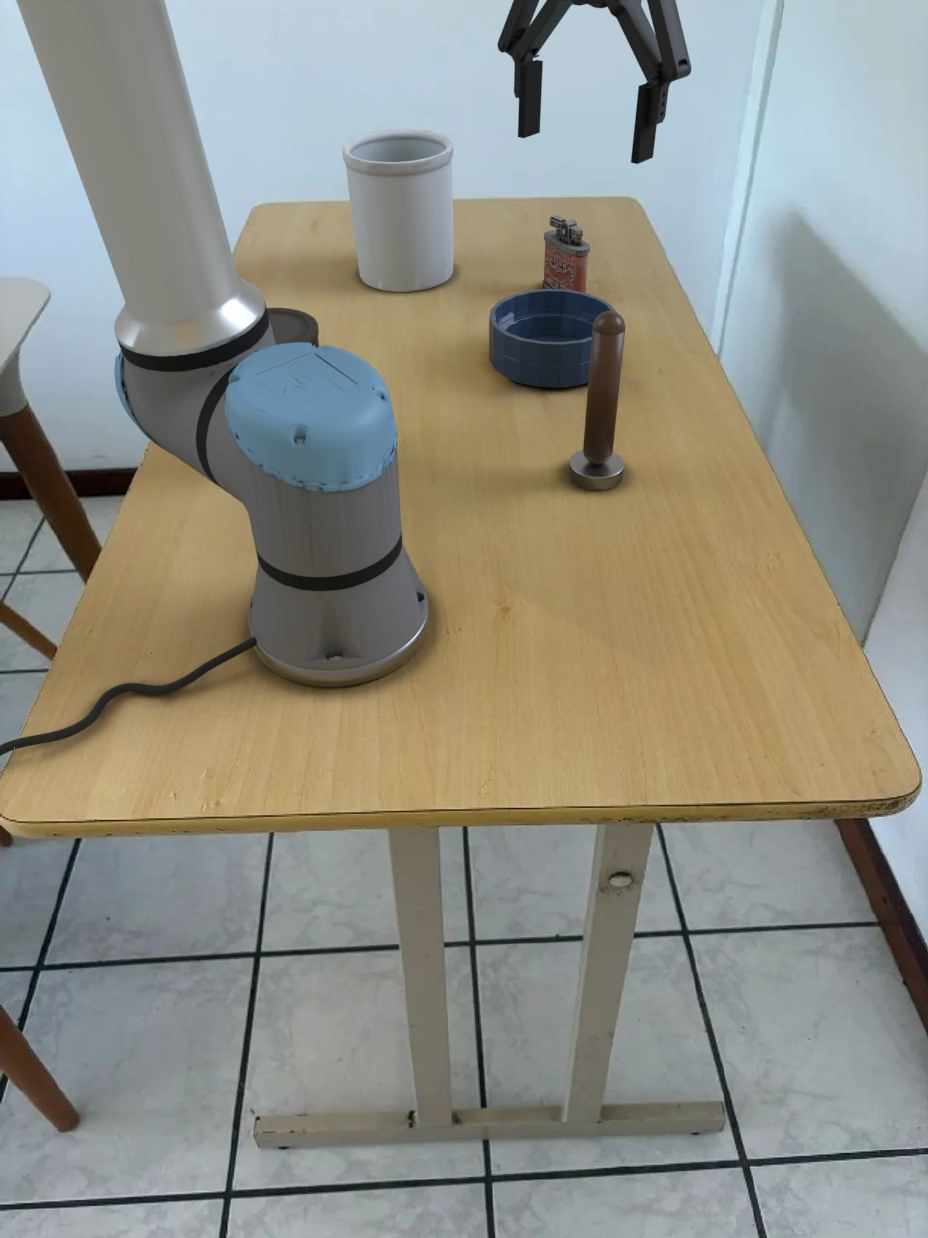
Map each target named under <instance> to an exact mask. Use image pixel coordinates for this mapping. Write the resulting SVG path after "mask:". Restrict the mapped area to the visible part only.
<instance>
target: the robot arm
mask: <svg viewBox="0 0 928 1238" xmlns="http://www.w3.org/2000/svg"><path fill="white" fill-rule="evenodd" d="M15 2H16V4H17V7H18V9H19V12H20V15H21V18H22V21H23V23H24V26H25V29H26V32H27V34H28V37H29V40H30V43H31V45H32V48H33V51H34V54H35V56H36V59H37V62H38V64H39V68H40V70H41V73H42V76H43V79H44V81H45V84H46V87H47V89H48V92H49V95H50V98H51V100H52V104H53V106H54V109H55V113H56V114H57V117H58V120H59V123H60V125H61V129H62V131H63V133H64V137H65V139H66V143H67V145H68V148H69V151H70V153H71V156H72V158H73V162H74V164H75V167H76V170H77V172H78V175H79V178H80V181H81V184H82V186H83V190H84V192H85V195H86V197H87V200H88V203H89V206H90V208H91V211H92V214H93V217H94V220H95V222H96V224H97V228H98V230H99V233H100V236H101V239H102V242H103V245H104V247H105V251H106V253H107V255H108V258H109V261H110V264H111V268H112V270H113V272H114V275H115V278H116V280H117V283H118V285H119V288H120V291H121V294H122V297H123V300H124V305H123V306H122V308H121V310H120V311H119V312H118V314H117V316H116V317H115V321H114V325H113V329H114V334H115V339H116V340H117V342H118V346H119V348H120V350H119V354H118V355H116V356H115V358H114V368H113V369H114V370H113V371H114V372H113V374H114V382H115V388H116V392H117V395H118V398H119V401H120V403H121V405H122V407H123V409H124V411H125V412H126V414H127V416H128V417H129V418H130V420H131V421H132V423H134V424H135V425H136V426H137V428H138V429H139V431H141V433H142V434H143V435H144V436H145V437H146V438H147V439H149V440H150V441H151V442H152V444H155V445H156V446H157V447H159V448H160V449H162V450H164V451H165V452H167V453H168V454H170V455H173V456H174V457H176V458H177V459H178V460H180V461H181V462H182V463H184V464H185V465H187V466H188V467H190V468H192V470H194V471H196V472H197V473H198V474H199V475H202V476H203V477H204V478H205V479H207V480H209V481H210V482H211V483H213V484H215V485H216V486H217V487H219V488H220V489H222V490H224V491H225V492H226V493H228V495H230V496H232V497H233V498H234V499H236V500H237V501H239V502H240V503H241V504H242V506H244V508H245V510H246V512H247V515H248V519H249V525H250V528H251V529H250V530H251V534H252V538H253V539H252V540H253V544H254V549H255V552H256V557H257V568H256V573H255V574H256V575H255V581H254V587H253V588H254V589H253V593H252V596H251V598H250V603H249V605H248V611H247V626H248V631H249V635H250V638H248V639H246V640H245V641H243V642H241V643H239V644H237V645H235V646H233V647H231V648H230V649H227V650H225V651H224V652H222V653H220V654H218V655H217V656H215V657H213V658H211V659H209V660H207V661H206V662H204V663H203V664H201V665H199V666H198V667H197V668H195V669H194V670H192V671H191V672H189V673H187V674H186V675H185V676H183V677H181V678H179V679H177V680H175V681H173V682H169V683H167V684H162V685H161V684H160V685H154V684H153V685H152V684H146V683H145V684H144V683H138V682H125V683H120V684H118V685H116V686H113V687H111V688H110V689H108V690H107V691H106V692H104V693H103V694H102V695H101V696H100V697H99V699H98V700H97V701H96V703H95V705H94V706H93V708H92V709H91V710H90V711H89V712H88V714H87V715H86V716H85V717H83V718H82V719H81V720H79V721H77V722H75V723H74V724H72V725H70V726H67V727H64V728H62V729H57V730H54V731H51V732H50V731H49V732H44V733H39V734H34V735H28V736H23V737H19V738H15V739H11V740H9V741H6V742H4V743H1V744H0V757H1V756H4V755H5V754H7V753H9V752H12V751H16V750H18V749H22V748H23V749H24V748H26V747H27V748H28V747H32V746H38V745H43V744H47V743H52V742H57V741H60V740H64V739H66V738H69V737H72V736H75V735H77V734H79V733H81V732H82V731H84V730H86V729H87V728H89V727H90V726H92V725H93V724H94V723H95V722H96V721H97V719H98V718H99V717H100V715H102V712H103V711H104V710H105V708H106V706H107V705H108V704H109V703H110V702H111V700H113V699H114V698H116V697H117V696H119V695H122V694H125V693H140V694H145V695H146V694H147V695H154V696H157V695H159V696H161V695H167V694H170V693H174V692H177V691H178V690H181V689H184V688H185V687H187V686H188V685H190V684H193V683H194V682H196V681H197V680H198V679H200V678H201V677H202V676H204V675H205V674H207V673H208V672H210V671H212V670H213V669H215V668H217V667H219V666H220V665H222V664H224V663H226V662H227V661H230V660H232V659H233V658H235V657H237V656H240V655H242V654H243V653H244V652H246V651H248V650H250V649H253V650H254V652H255V654H256V655H257V657H258V658H259V660H260V661H261V662H262V664H264V665H265V666H266V668H268V669H269V670H271V671H272V672H274V673H275V674H276V675H278V676H280V677H282V678H285V679H287V680H289V681H292V682H296V683H299V684H302V685H307V686H313V687H325V688H333V687H334V688H337V687H347V686H355V685H360V684H363V683H364V684H365V683H367V682H371V681H374V680H376V679H379V678H382V677H384V676H386V675H389V674H390V673H392V672H393V671H395V670H397V669H399V668H400V667H402V666H403V665H404V664H406V663H407V662H408V661H409V660H410V659H411V658H412V657H414V655H415V654H416V653H417V652H418V651H419V649H420V648H422V645H423V644H424V642H425V640H426V638H427V635H428V632H429V628H430V605H429V604H430V603H429V596H428V593H427V590H426V588H425V585H424V584H423V582H422V580H421V579H420V576H419V574H418V572H417V570H416V567H415V566H414V564H413V562H412V560H411V557H410V556H409V554H408V552H407V549H406V548H405V546H404V542H403V530H402V511H401V494H400V475H399V474H400V473H399V458H398V456H399V455H398V426H397V422H396V419H395V416H394V411H393V405H392V399H391V395H390V391H389V388H388V386H387V385H386V382H385V380H384V379H383V377H382V376H381V374H380V373H379V372H378V371H377V370H376V369H375V368H374V367H373V366H372V365H371V364H370V363H369V362H368V361H366V360H365V359H364V358H362V357H361V356H358V355H356V354H355V353H353V352H350V351H349V350H346V349H344V348H340V347H337V346H334V345H330V344H323V345H321V346H319V347H318V348H315V347H312V344H311V343H304V342H301V343H285V344H279V345H276V343H275V339H274V335H273V331H272V327H271V323H270V319H269V315H268V312H267V308H268V307H267V304H266V300H265V297H264V295H263V292H262V291H261V290H260V289H259V288H258V287H257V286H255V285H254V284H253V283H250V281H247V280H245V279H244V278H242V277H240V276H238V272H237V268H236V264H235V261H234V260H235V259H234V257H233V252H232V250H231V249H232V248H231V244H230V241H229V237H228V233H227V230H226V227H225V223H224V219H223V215H222V211H221V207H220V205H219V200H218V197H217V193H216V190H215V186H214V185H215V184H214V181H213V178H212V174H211V169H210V166H209V162H208V158H207V155H206V152H205V147H204V144H203V140H202V137H201V133H200V129H199V126H198V121H197V118H196V117H197V116H196V114H195V110H194V106H193V103H192V99H191V94H190V91H189V87H188V84H187V80H186V76H185V72H184V68H183V64H182V61H181V57H180V53H179V50H178V45H177V42H176V39H175V35H174V31H173V26H172V24H171V20H170V16H169V12H168V9H167V6H166V1H165V0H15ZM646 2H647V6H648V11H649V14H650V19H651V22H652V25H651V23H650V20H649V19H648V16H647V14H646V11H645V10H644V8H643V7H642V0H546V1H545V2H544V3H543V5H542V6H541V8H540V9H539V11H538V13H537V14H536V16H535V17H534V15H535V13H536V11H537V8H538V5H539V3H540V0H513V1H512V3H511V6H510V9H509V11H508V14H507V16H506V20H505V22H504V24H503V27H502V30H501V33H500V36H499V37H498V40H497V50H498V51H499V52H500V53H501V54H502V53H505V54H507V55H508V56H510V57H511V59H512V61H513V63H514V64H513V65H514V66H513V67H514V68H513V69H514V73H513V74H514V75H513V94H514V98H515V99H518V114H517V117H518V118H517V120H518V121H517V138H521V139H526V138H528V137H531V136H534V135H537V134H539V133H540V132H541V115H542V113H541V112H542V92H543V91H542V90H543V70H544V69H543V68H544V61H543V60H540V59H536V58H539V57H540V54H539V52H540V51H541V49H542V48H543V46H544V45H545V43H547V41H548V39H549V38H550V36H551V35H552V33H553V32H554V30H555V29H556V28H557V26H559V23H560V22H561V21H562V19H563V18H564V16H565V15H566V14H567V12H568V11H569V9H570V8H571V7H572V6H578V7H579V6H584V5H589V6H590V7H593V8H595V9H605V8H607V9H608V11H609V13H610V14H611V16H613V17H615V19H616V20H617V23H618V25H619V27H620V28H621V30H622V33H623V34H624V37H625V39H626V41H627V43H628V45H629V47H630V49H631V51H632V53H633V55H634V58H635V60H636V61H637V64H638V66H639V68H640V70H641V72H642V74H643V76H644V78H645V80H646V82H645V83H643V84H640V85H638V89H637V99H636V109H635V118H634V127H633V128H634V129H633V137H632V148H631V157H630V164H635V165H639V164H642V163H643V162H646V161H648V160H651V159H653V158H654V153H655V144H656V143H655V142H656V135H657V128H658V127H657V126H658V125H659V124H662V123H663V122H664V120H665V118H666V113H667V106H668V105H667V104H668V97H669V89H670V85H671V84H672V83H673V82H675V81H679V80H681V79H684V78H686V77H689V76H690V75H691V74H692V69H693V68H692V63H691V60H690V55H689V51H688V47H687V42H686V39H685V34H684V29H683V26H682V22H681V17H680V13H679V9H678V5H677V1H676V0H646ZM533 18H534V19H533ZM652 26H653V27H652ZM534 59H535V60H534ZM14 747H15V749H14Z"/></svg>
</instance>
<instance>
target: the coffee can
mask: <svg viewBox="0 0 928 1238" xmlns="http://www.w3.org/2000/svg"><path fill="white" fill-rule="evenodd" d="M266 308H267V312H268V315H269V319H270V323H271V327H272V331H273V335H274V339H275V343H276V345H279V344H285V343H301V342H304V343H311V344H312V347H315V348H318V347H320V341H319V334H320V333H319V332H320V330H319V324H318V321H317V320H316V318H314V317H313V316H312V315H311V314H308V313H307V312H304V311H301V310H298V309H295V308H294V309H293V308H287V307H266Z"/></svg>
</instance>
